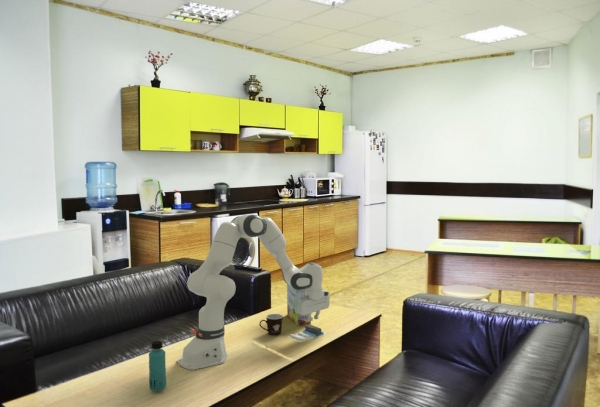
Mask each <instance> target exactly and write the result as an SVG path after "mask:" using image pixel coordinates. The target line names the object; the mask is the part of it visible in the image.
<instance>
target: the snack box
mask: <svg viewBox="0 0 600 407" xmlns="http://www.w3.org/2000/svg"><path fill="white" fill-rule="evenodd" d="M286 290H287V291H286V304H287V306H286V307H287V308H286V309H287V311H286V312H287V313H286V314H287V316H288V317H289V318H290V319H291V321H292V322H294V323H295V324H296V325H297V326H302V325H303V326H305V325H308V324H310V325H312V324H311V323H312V321H309V317H308V316H307V314H306V315H303V316H302V315H299V314H298V313H297V309H298V302H299V299H300V298H301V297H304V296H305V289H302V290H296V289H294V288H292V287H291V286H290V285H289V284H287V283H286Z"/></svg>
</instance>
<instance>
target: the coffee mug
mask: <svg viewBox="0 0 600 407" xmlns="http://www.w3.org/2000/svg"><path fill="white" fill-rule="evenodd" d="M283 319H284V316H283V315H282V314H280V313H269V314H267V315H266V318H265V319H261V320H260V321H259V326H260V328H261V329H263V330H264V331H267V335H269V336H272V337H273V336H274V337H277V336H280V335H281V334H282V327H283ZM263 322H265V323H266V326H267V328H265V327H263V326H262V323H263Z"/></svg>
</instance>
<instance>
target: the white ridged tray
mask: <svg viewBox="0 0 600 407" xmlns="http://www.w3.org/2000/svg"><path fill="white" fill-rule="evenodd" d="M326 334H327V333H325V332H324V331H322V330H321V335H318V336H316V334H313V333H311V332H308V331H306V330H305V329H304V330H302V331H298V332H297V333H294V334H293V333H290V334H289V335H288V336H287V338H289V339H292V340H294V341H295V342H298V343H304V342H307V341H309V340H313V339H315V338H319V337H321V336H323V335H326Z"/></svg>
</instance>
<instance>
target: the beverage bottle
mask: <svg viewBox="0 0 600 407" xmlns="http://www.w3.org/2000/svg"><path fill="white" fill-rule="evenodd" d="M150 349H152V350H150V351H149V353H148V370H149V372H148V378H149V379H148V384H149V390H150V391H152V392H160V391H163V390H164V389H166V387H167V372H166V371H167V370H166V367H167V366H166V351H165V350H164V349H163V341H161V340H153V341H152V342H151V348H150Z"/></svg>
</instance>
